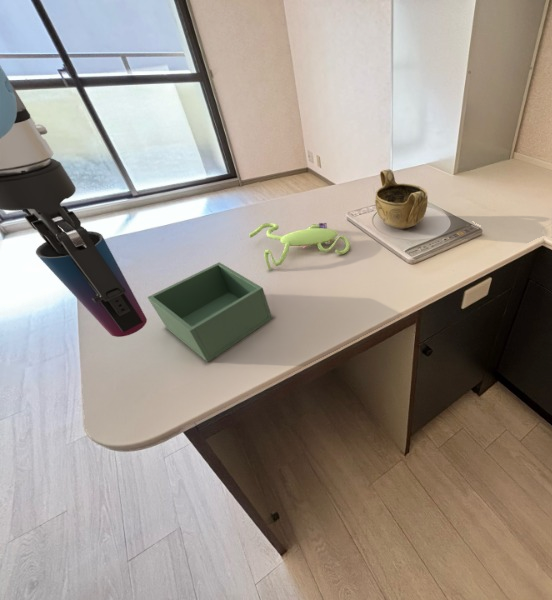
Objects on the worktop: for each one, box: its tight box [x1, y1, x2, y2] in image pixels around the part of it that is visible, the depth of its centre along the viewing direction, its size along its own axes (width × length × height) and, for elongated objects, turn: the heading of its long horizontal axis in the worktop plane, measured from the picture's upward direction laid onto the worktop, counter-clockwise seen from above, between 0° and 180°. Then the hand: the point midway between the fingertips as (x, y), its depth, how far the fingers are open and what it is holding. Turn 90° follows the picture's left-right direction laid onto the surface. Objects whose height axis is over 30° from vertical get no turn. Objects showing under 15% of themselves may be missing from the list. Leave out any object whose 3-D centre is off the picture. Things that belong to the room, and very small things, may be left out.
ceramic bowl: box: [374, 168, 429, 230], centre depth 105 cm, size 22×17×15 cm
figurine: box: [248, 222, 350, 271], centre depth 95 cm, size 18×27×6 cm
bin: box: [147, 262, 273, 363], centre depth 69 cm, size 16×16×9 cm
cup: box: [35, 230, 148, 338], centre depth 47 cm, size 7×7×15 cm
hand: (122, 316), depth 51 cm, fingers closed on cup, 6 cm apart
